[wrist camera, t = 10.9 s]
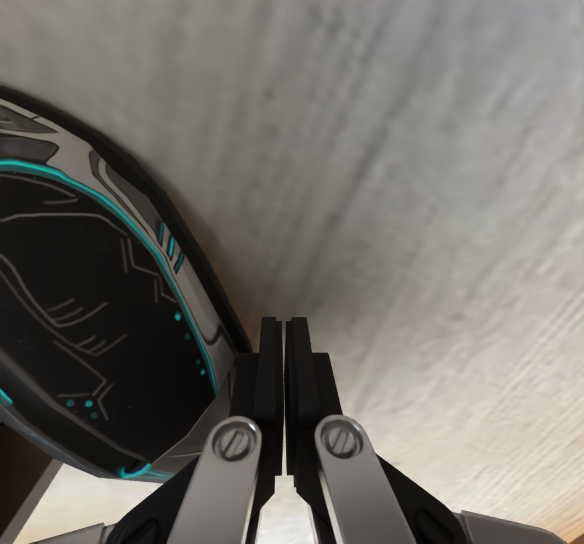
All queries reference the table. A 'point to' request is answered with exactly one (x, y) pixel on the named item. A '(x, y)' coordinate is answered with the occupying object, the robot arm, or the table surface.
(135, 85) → the table surface
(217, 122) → the table surface
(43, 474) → the cubby shelf
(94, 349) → the computer mouse
